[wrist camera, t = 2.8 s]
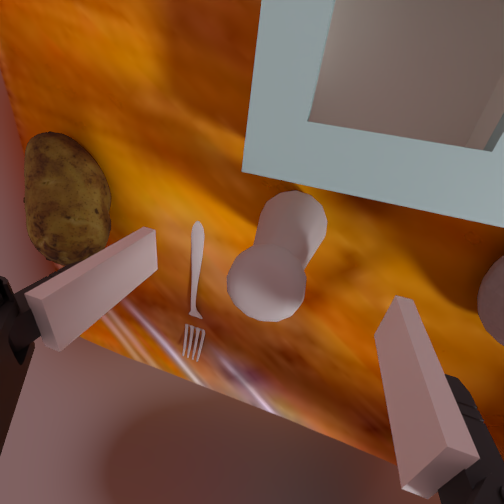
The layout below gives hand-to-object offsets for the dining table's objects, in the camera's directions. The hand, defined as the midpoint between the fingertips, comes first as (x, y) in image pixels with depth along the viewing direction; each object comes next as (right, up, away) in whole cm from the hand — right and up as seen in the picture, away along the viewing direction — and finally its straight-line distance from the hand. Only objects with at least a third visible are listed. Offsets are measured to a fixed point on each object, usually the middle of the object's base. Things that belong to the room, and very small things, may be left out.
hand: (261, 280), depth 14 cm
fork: (-7, -3, +18) cm, 20 cm away
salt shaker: (+4, +5, +10) cm, 12 cm away
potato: (-19, +8, +16) cm, 26 cm away
